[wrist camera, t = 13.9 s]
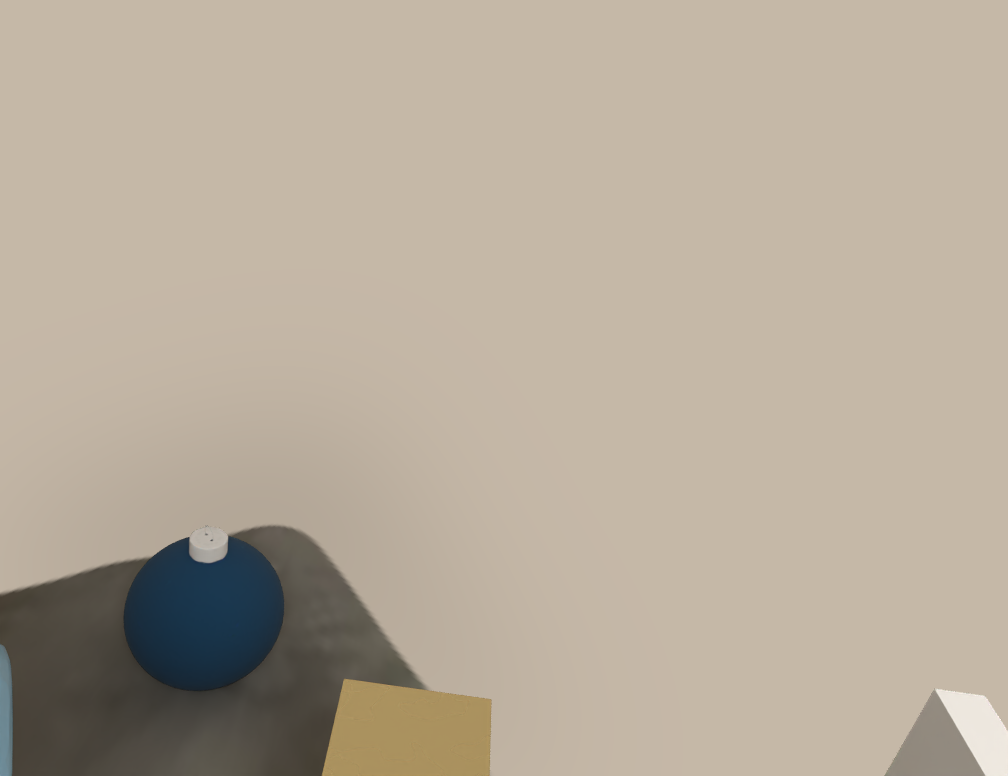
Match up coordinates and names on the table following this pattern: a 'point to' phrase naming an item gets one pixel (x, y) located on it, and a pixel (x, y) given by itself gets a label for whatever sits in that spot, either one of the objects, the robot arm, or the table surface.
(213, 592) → the christmas ornament
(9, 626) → the table surface
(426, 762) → the block
